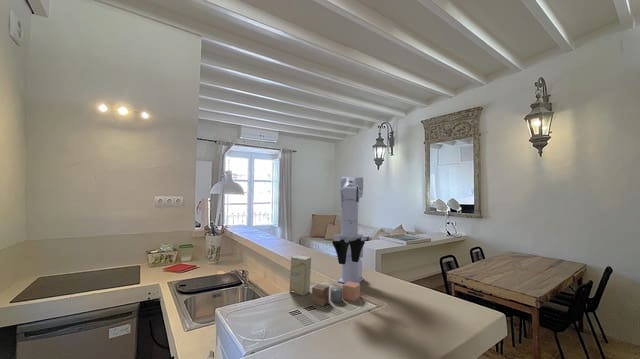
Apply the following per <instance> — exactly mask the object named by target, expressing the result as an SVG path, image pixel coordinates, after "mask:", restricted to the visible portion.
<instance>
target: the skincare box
mask: <svg viewBox="0 0 640 359" xmlns="http://www.w3.org/2000/svg"><path fill="white" fill-rule="evenodd" d="M311 270H312V256H306V255H299V254H296V255H293V256H290V272H289V273H290V274H289V278H290V279H289V289H288V290H289V293H293V292H292V291H294V294H297V295H300V296H305V295H306V294H308V293H310V290H311Z"/></svg>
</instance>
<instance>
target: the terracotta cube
mask: <svg viewBox="0 0 640 359" xmlns="http://www.w3.org/2000/svg"><path fill="white" fill-rule="evenodd" d="M342 289H343V298H342V300H343V299H344V300H347V301H351V302H356V301H357V300H358V299H360V297H361V282H360V283H355V282H350V281H348V282H346V283H343V284H342Z"/></svg>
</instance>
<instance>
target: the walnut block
mask: <svg viewBox="0 0 640 359" xmlns="http://www.w3.org/2000/svg"><path fill="white" fill-rule="evenodd" d="M329 302H330V286H329V285H325V284H321V283H317V284H316V285H314V286H312V287H311V305H315V306H319V307H325V306H326V304H328V303H329Z"/></svg>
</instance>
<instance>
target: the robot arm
mask: <svg viewBox="0 0 640 359" xmlns="http://www.w3.org/2000/svg"><path fill="white" fill-rule="evenodd" d="M363 192H364V177H363V176H342V177H341V178H340V191H339V200H340V210H341V211H340V233H338V234H336V233H335V234H333V240H332V241H331V242H332V246H333V248H334V250H335V253H336V256H337V260H338V264H339V265H341V278H339V279H338V280H337V282H338V281H339V282H338V283H343V284H345V283H346V282H348V281H350V282H355V283H360V284H361V282H362V281H363V280H365V277H364V276H363V261H362V259H363V257H364V245H365V244H366V241H365V240H363V239H364V234H361V233H360V234H359V232H358V230H359V222H358V221H359V220H358V219H359V202H360V199H361V198H362V197H363V194H364V193H363Z"/></svg>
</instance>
